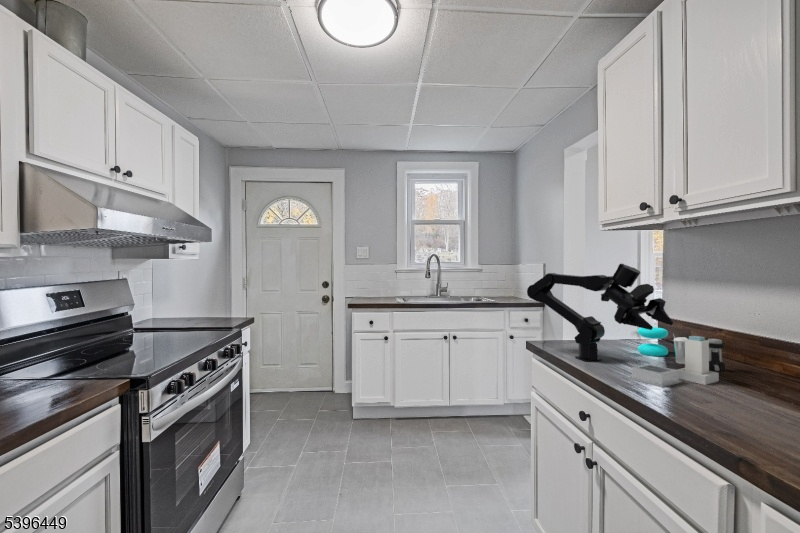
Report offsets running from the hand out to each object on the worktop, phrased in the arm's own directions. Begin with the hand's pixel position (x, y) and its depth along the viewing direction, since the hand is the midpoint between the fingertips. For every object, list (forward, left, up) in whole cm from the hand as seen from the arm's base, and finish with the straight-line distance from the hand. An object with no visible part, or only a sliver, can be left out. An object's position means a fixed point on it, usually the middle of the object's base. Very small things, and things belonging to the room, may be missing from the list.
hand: (662, 326), depth 125 cm
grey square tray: (+6, +7, -16) cm, 18 cm away
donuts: (-26, +22, -16) cm, 38 cm away
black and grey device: (-2, +22, -16) cm, 27 cm away
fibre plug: (+6, +7, -16) cm, 18 cm away
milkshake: (-12, +20, -16) cm, 28 cm away
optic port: (+4, -6, -16) cm, 17 cm away
